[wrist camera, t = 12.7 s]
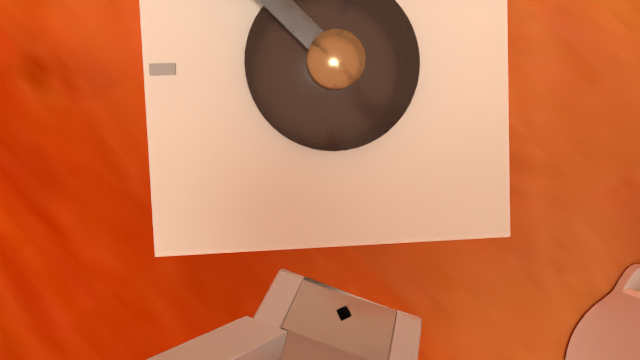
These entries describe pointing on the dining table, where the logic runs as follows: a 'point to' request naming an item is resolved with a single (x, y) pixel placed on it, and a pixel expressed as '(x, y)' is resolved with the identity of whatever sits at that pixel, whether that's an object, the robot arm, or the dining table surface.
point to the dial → (332, 69)
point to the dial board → (316, 165)
